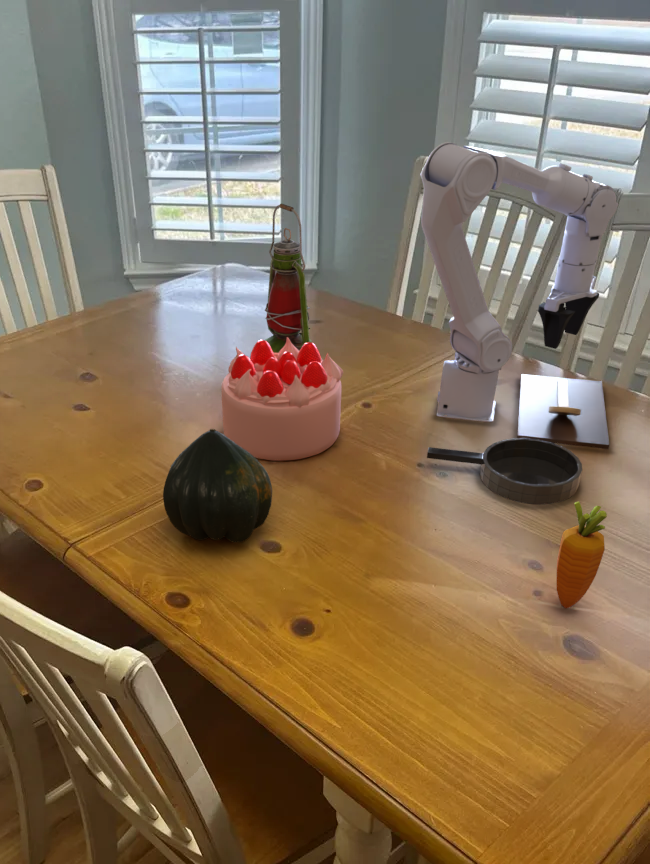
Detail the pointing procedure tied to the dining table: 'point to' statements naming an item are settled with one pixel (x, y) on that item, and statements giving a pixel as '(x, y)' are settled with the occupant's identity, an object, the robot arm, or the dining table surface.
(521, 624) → the dining table surface
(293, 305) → the lantern
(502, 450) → the pan
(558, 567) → the carrot
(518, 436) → the board
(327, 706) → the dining table surface
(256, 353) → the cake
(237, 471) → the squash
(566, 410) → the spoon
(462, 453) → the pan handle
